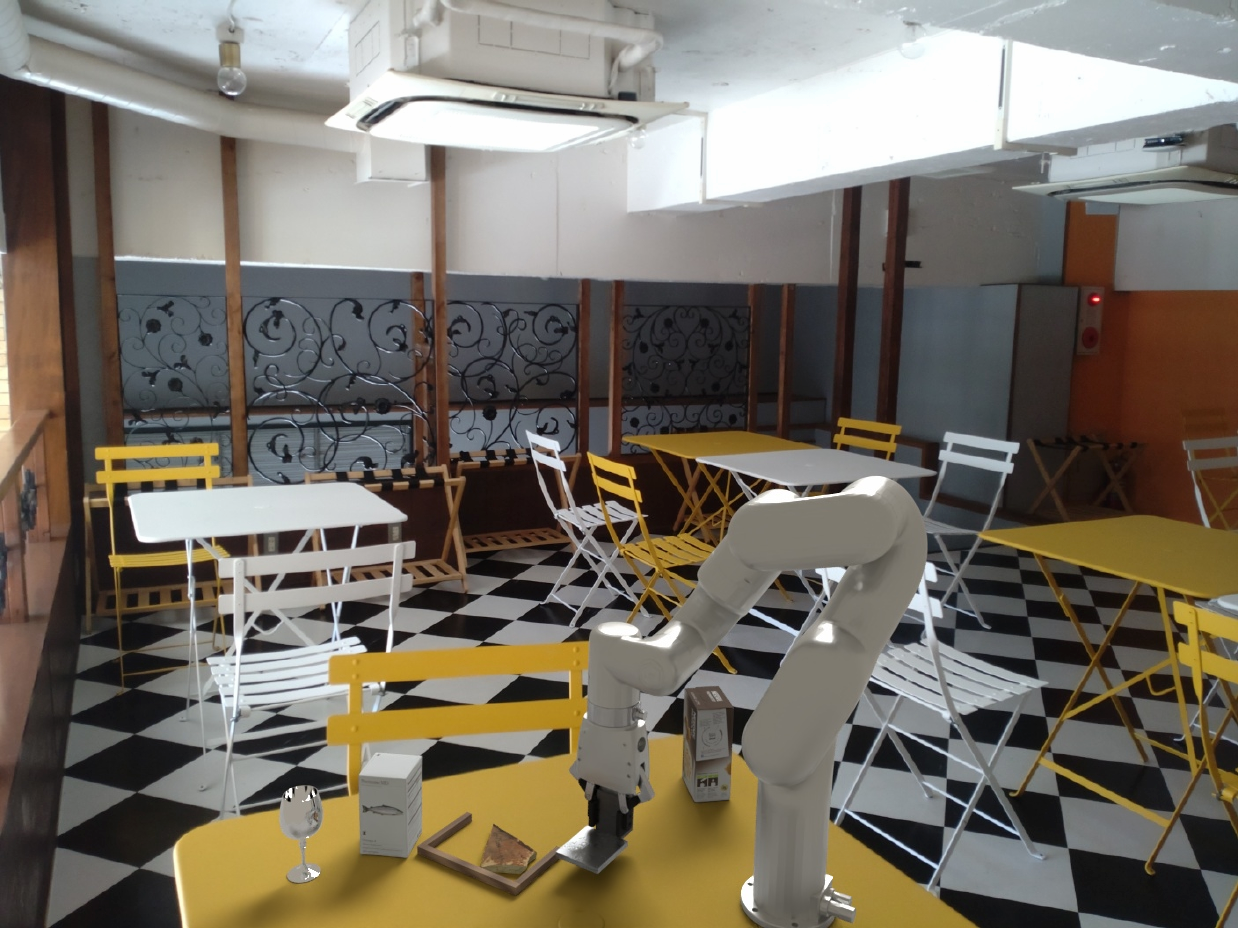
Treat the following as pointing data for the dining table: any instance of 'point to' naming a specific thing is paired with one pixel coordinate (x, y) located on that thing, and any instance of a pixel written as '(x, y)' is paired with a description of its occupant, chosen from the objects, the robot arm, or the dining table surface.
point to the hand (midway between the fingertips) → (609, 826)
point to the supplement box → (390, 804)
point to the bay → (475, 871)
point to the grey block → (597, 837)
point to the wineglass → (301, 826)
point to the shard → (506, 853)
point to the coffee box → (707, 743)
